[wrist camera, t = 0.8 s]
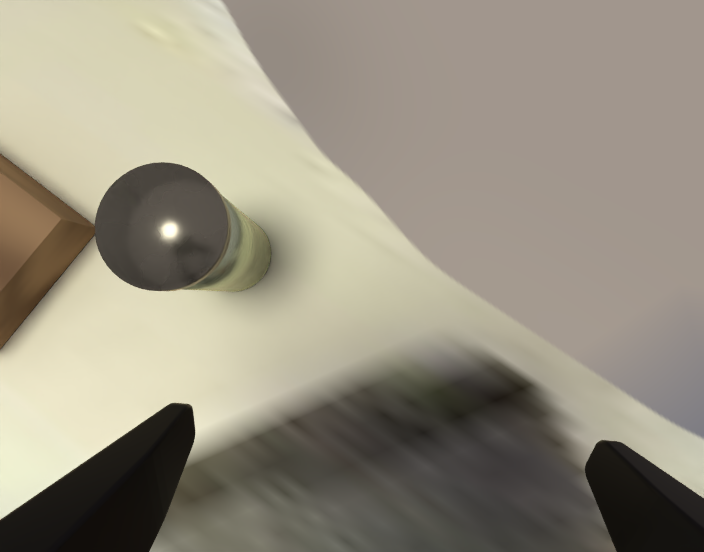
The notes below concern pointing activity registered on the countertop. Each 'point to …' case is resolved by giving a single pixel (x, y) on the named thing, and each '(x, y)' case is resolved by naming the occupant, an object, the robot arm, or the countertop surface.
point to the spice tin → (178, 233)
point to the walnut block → (32, 244)
